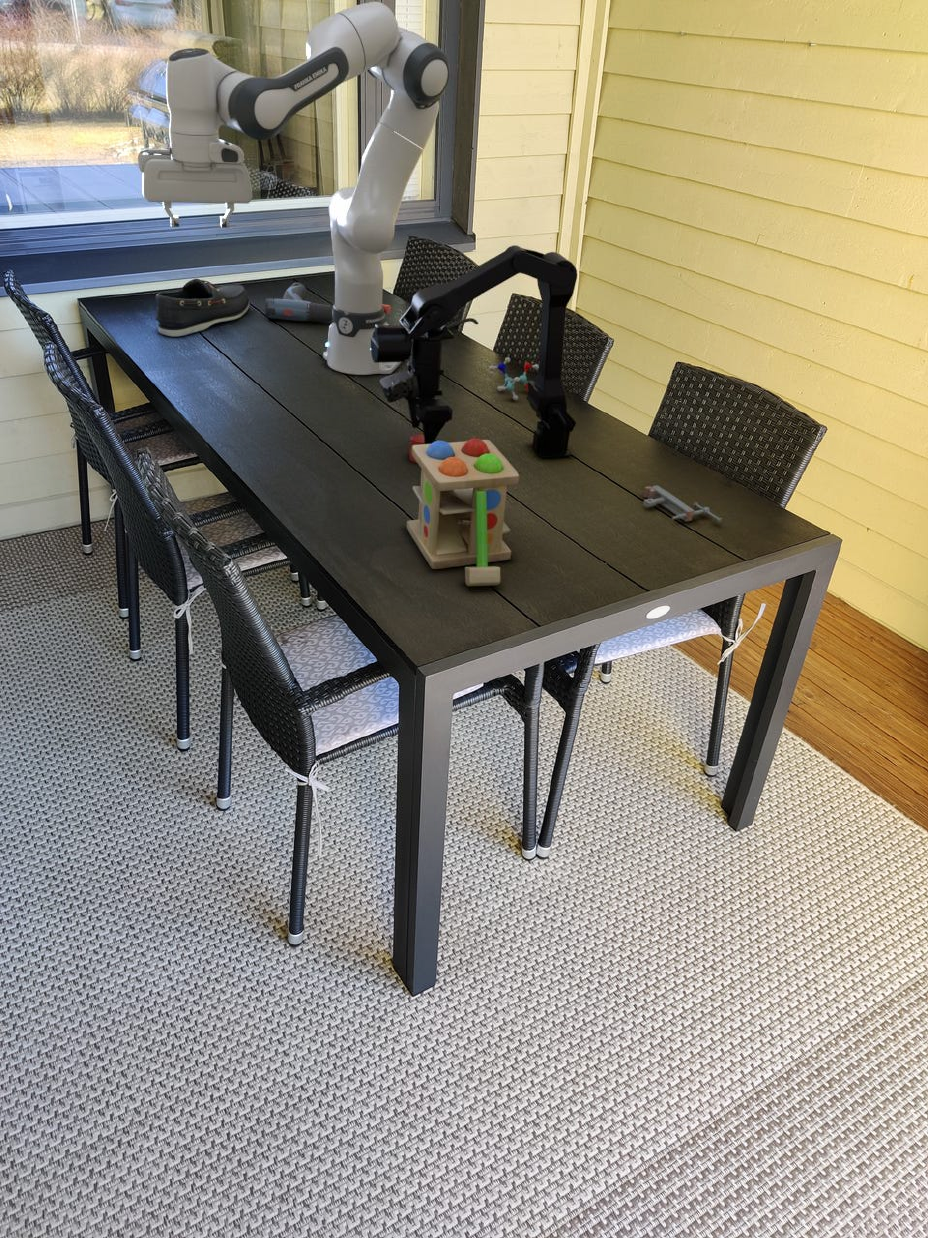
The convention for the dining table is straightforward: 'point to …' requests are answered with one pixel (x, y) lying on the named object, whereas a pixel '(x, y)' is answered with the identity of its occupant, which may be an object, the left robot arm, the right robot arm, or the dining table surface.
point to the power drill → (297, 306)
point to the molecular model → (509, 380)
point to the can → (416, 440)
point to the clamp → (655, 498)
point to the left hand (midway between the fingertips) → (200, 226)
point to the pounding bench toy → (463, 507)
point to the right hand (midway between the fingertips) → (421, 436)
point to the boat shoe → (199, 307)
